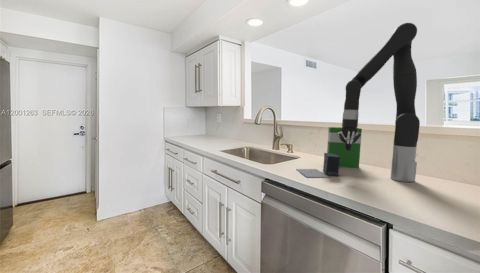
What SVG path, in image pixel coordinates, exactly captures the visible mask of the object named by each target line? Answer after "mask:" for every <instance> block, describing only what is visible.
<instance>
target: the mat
mask: <svg viewBox="0 0 480 273" xmlns="http://www.w3.org/2000/svg"><path fill="white" fill-rule="evenodd" d="M296 171H297V172H298V173H300V174H301V175H302V176H304V177H305V178H307V179H309V178H310V179H311V178H313V179H315V178H318V179H319V178H321V179H323V178H325V179H326V178H331V177H330V175H326V174H325V173H324V172H323V171H320V169H317V168H296Z"/></svg>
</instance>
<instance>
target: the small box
mask: <svg viewBox="0 0 480 273" xmlns="http://www.w3.org/2000/svg"><path fill="white" fill-rule="evenodd" d="M323 157H324V158H323V166H322V167H323V169H322V172H323V173H324V174H326V175H327V176H329V177H330V176H332V177H333V176H334V177H339V168H340V167H339V160H340V157H339V156H338V155H336V154H332V153H327V152H324V155H323Z"/></svg>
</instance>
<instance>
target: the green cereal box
mask: <svg viewBox="0 0 480 273" xmlns="http://www.w3.org/2000/svg"><path fill="white" fill-rule="evenodd" d="M341 129H342V126H341V127H337V126H334V127H333V126H329V127H328V133H327V148H326V151H327V152H326V153H332V154H336V155H338V156H339V157H340V160H339V168H341V167H342V168H356V169H357V168H358V169H359V168H360V161H361V160H360V157H361V144H362V131H363V129H362V128H360V127H357V132H358V133H359V134H361V136H360V137H359V138H358V140H357V141H356V142H355V143H352V144H351V150H350V151H346V150H345V143H344V142H342V141H341V140H340V138H339V137H338V135H337V133H339V132H341ZM342 136H343V137H344V135H342ZM350 138H351V137H350Z"/></svg>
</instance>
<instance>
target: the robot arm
mask: <svg viewBox="0 0 480 273" xmlns="http://www.w3.org/2000/svg"><path fill="white" fill-rule="evenodd" d="M417 33H418V28H417V25H415V23H412V22H404V23H402V24H399V26H397V27H396V28H395V29H394V31H393V33H392V34H391V36H390V37H389V39H388V40H387V42H386V43H385V44H384V45H383V46H382V47H381V48H380V49H379V50H378V51H377V53H376V54H374V56H372V57H371V58H370V59H369V60H368V61H367V62H366V63H365V64H364V66H363V67H362V68H361V69H360V70H359V71H358V72H357V74H356V75H355V76H353V77H352V79H351V80H349V81H348V82H347V83H346V85H345V100H344V105H343V112H342V121H341V122H342V123H341V127H342V129H341V132H339V133H337V135H338V137H339V138H340V140H341V141H342V142H344V143H345V150H346V151H350V150H351V144H352V143H355V142H356V141H357V140H358V138H359V137H360V136H361V137H362V133H361V134H359V133H358V132H357V128H359V126H358V124H359V114H360V113H359V109H360V96H361V92H362V91H361V90H362V88H364V86H365V85H366V84H367V83H368V82H369V81H370V80H371V79H372V78H373V77H374V76H376V75H377V74H378V73H379V71H380V70H381V69H382V68H384V66H385V65H386V63H387V62H388V61H389V60H391V58H392V57H393V65H392V67H393V68H392V70H393V71H392V77H393V78H392V79H393V82H392V83H393V89H394V98H395V102H396V111H395V112H396V113H395V114H396V115H395V123H394V124H395V126H394V138H393V146H392V158H391V169H390V179H391V180H394V181H397V182H401V183H402V182H403V183H412V182H416V176H417V175H416V174H417V168H418V167H417V164H418V163H417V161H416V156H417V155H416V154H417V146H418V141H419V133H420V125H421V124H420V123H421V122H420V119H419V117H418V115H417V114H416V112H417V111H416V107H415V106H416V105H415V102H416V95H417V88H418V80H417V79H418V78H417V77H418V76H417V75H418V74H417V68H416V65H415V63H414V60H413V58H412V45H413V43H412V42H413V41H414V39H415V38H416V36H417ZM342 135H344V137H343V136H342ZM350 137H351V138H350Z"/></svg>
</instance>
